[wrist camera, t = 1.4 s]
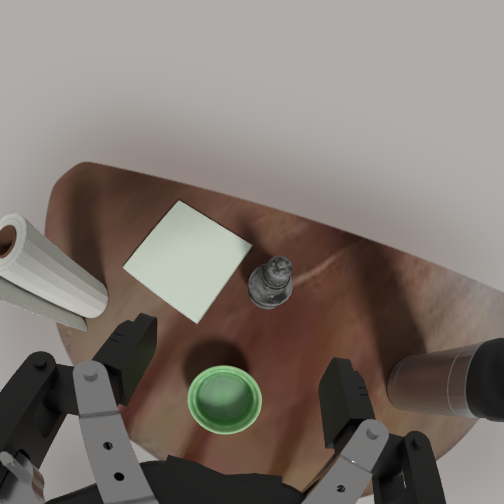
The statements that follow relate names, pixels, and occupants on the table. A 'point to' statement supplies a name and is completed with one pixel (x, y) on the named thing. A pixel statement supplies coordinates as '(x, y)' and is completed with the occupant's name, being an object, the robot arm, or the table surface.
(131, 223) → the table surface
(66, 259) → the paper towel roll
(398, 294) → the table surface
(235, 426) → the ramekin
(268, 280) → the salt shaker
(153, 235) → the sage tile
